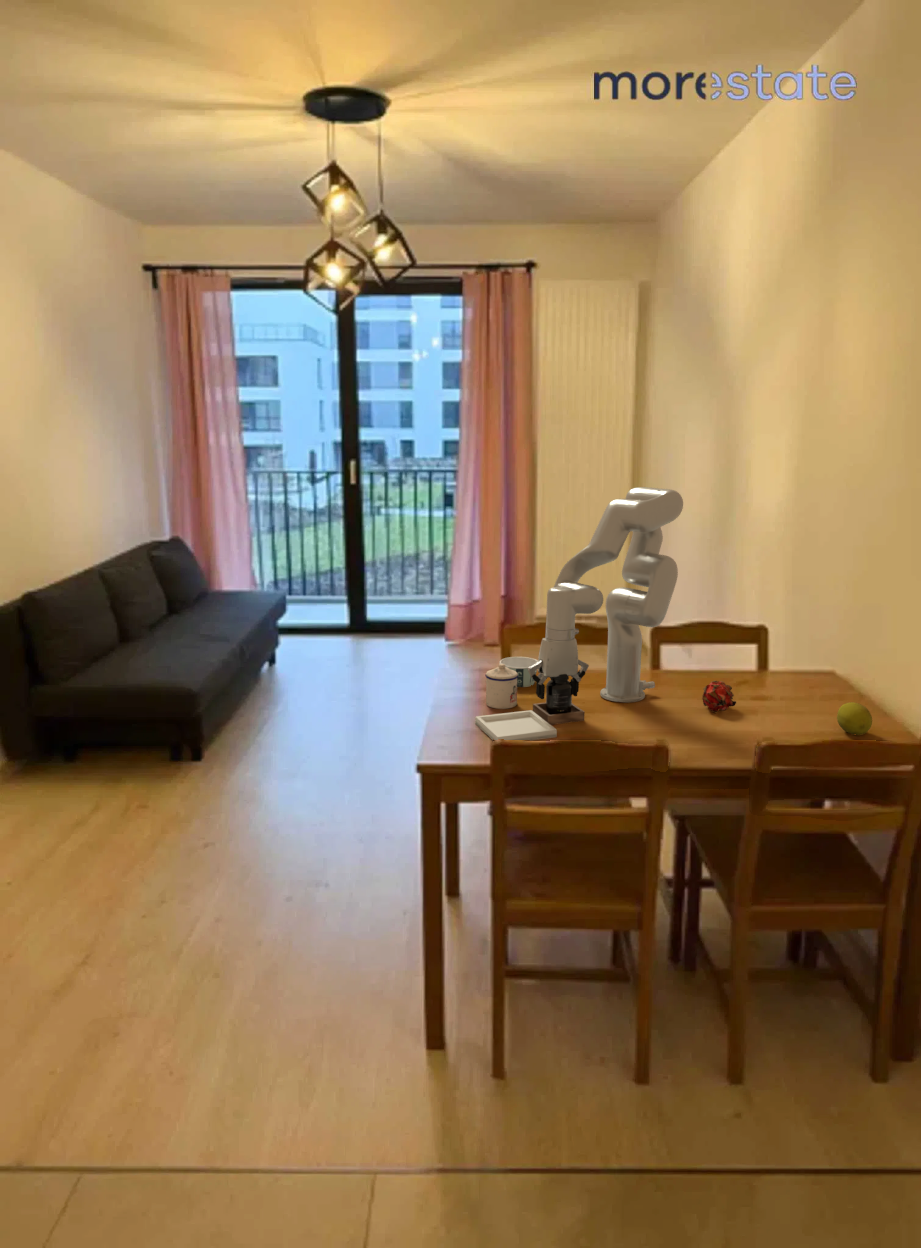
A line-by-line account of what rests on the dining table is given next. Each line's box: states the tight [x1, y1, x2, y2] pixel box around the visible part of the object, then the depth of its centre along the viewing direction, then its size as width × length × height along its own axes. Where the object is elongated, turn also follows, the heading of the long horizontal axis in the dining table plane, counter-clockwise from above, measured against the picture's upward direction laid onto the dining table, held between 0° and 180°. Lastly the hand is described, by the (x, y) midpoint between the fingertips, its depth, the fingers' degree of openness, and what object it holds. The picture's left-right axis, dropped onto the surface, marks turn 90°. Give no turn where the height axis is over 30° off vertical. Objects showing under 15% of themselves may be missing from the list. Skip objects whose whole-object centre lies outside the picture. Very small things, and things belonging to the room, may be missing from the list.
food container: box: [499, 656, 538, 688], centre depth 275 cm, size 12×12×6 cm
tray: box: [474, 709, 558, 741], centre depth 235 cm, size 16×16×2 cm
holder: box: [532, 702, 586, 726], centre depth 245 cm, size 10×10×2 cm
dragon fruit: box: [701, 680, 737, 714], centre depth 251 cm, size 8×8×12 cm
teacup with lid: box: [485, 663, 518, 710], centre depth 256 cm, size 12×9×12 cm
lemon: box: [836, 701, 873, 736], centre depth 233 cm, size 11×8×8 cm
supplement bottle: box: [545, 674, 573, 715], centre depth 244 cm, size 7×7×12 cm
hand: (557, 696), depth 244 cm, fingers open, 9 cm apart
